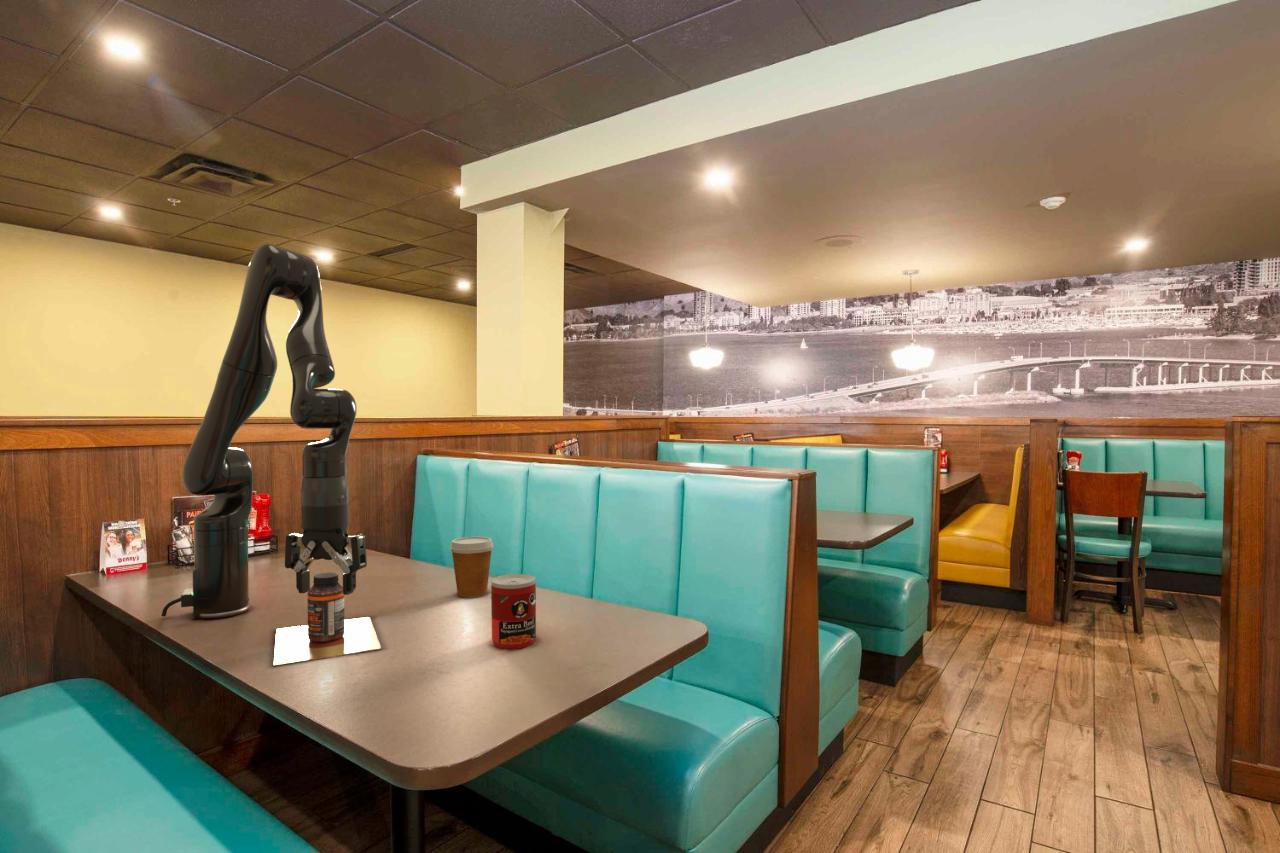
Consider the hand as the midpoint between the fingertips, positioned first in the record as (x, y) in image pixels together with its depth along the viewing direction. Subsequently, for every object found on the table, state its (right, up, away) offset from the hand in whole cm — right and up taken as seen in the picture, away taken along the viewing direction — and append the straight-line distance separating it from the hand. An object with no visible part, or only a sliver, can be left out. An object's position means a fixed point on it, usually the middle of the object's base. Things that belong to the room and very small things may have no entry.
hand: (326, 593), depth 117 cm
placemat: (0, -8, 0) cm, 8 cm away
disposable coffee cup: (+18, -8, +30) cm, 36 cm away
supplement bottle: (0, -8, 0) cm, 8 cm away
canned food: (+34, -8, -2) cm, 35 cm away
